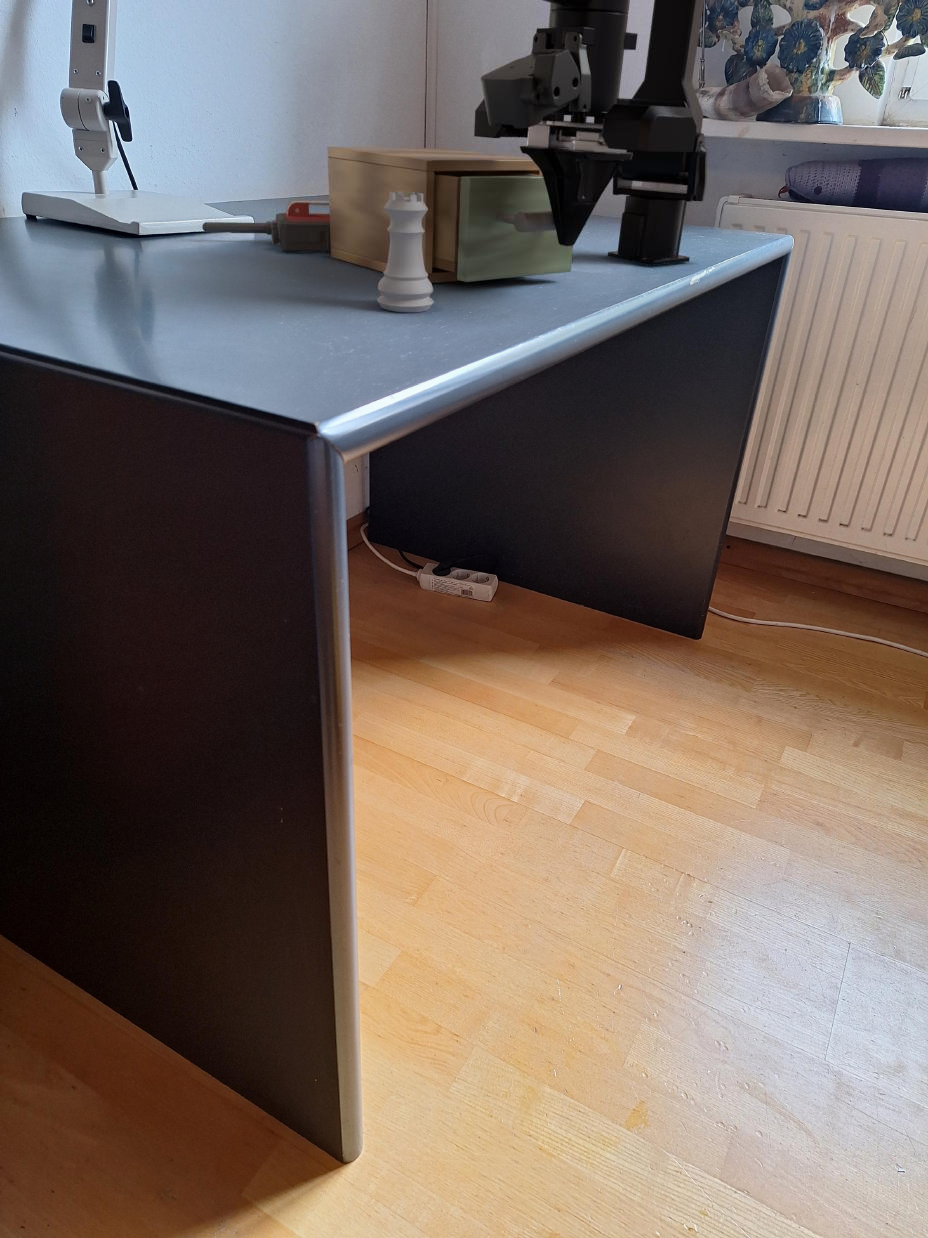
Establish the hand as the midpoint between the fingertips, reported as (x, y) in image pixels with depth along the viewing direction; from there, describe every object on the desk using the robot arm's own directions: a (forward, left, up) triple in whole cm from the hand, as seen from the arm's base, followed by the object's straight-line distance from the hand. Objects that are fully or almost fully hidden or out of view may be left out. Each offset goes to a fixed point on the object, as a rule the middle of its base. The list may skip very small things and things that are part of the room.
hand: (566, 245), depth 71 cm
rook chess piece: (+14, -3, -4) cm, 15 cm away
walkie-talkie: (+6, -33, -4) cm, 34 cm away
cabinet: (0, -18, -4) cm, 19 cm away
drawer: (0, -11, -3) cm, 11 cm away
